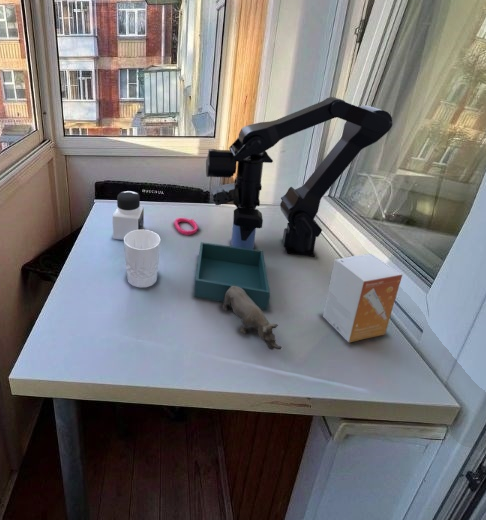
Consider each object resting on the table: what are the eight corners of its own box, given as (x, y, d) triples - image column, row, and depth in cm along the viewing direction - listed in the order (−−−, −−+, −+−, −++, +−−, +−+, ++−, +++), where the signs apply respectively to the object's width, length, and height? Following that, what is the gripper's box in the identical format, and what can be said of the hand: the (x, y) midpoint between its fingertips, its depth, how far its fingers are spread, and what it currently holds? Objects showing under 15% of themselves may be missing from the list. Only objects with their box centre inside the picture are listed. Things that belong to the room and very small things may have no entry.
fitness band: (201, 234, 91) (201, 229, 91) (181, 236, 90) (181, 232, 90) (190, 220, 99) (190, 215, 99) (171, 222, 98) (171, 217, 97)
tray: (260, 266, 78) (262, 250, 77) (267, 310, 65) (270, 292, 64) (199, 257, 82) (200, 241, 80) (194, 297, 68) (195, 280, 67)
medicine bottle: (138, 242, 88) (138, 201, 84) (112, 239, 89) (111, 198, 86) (143, 228, 95) (143, 189, 91) (119, 225, 96) (118, 187, 92)
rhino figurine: (268, 367, 54) (272, 337, 52) (217, 307, 66) (220, 282, 64) (287, 358, 55) (292, 329, 53) (234, 302, 67) (237, 277, 65)
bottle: (253, 241, 88) (256, 204, 85) (254, 253, 83) (258, 214, 80) (231, 238, 90) (234, 202, 86) (231, 250, 84) (234, 211, 81)
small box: (348, 344, 58) (363, 281, 54) (321, 316, 63) (333, 258, 60) (386, 335, 59) (403, 274, 55) (356, 309, 65) (370, 252, 61)
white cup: (164, 272, 76) (165, 234, 73) (151, 294, 69) (152, 253, 66) (133, 263, 79) (133, 226, 76) (118, 283, 72) (117, 244, 69)
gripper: (216, 162, 91) (212, 213, 96) (213, 189, 74) (209, 250, 79) (258, 166, 89) (253, 218, 93) (266, 194, 71) (258, 257, 76)
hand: (243, 234), depth 85 cm, fingers closed on bottle, 6 cm apart
